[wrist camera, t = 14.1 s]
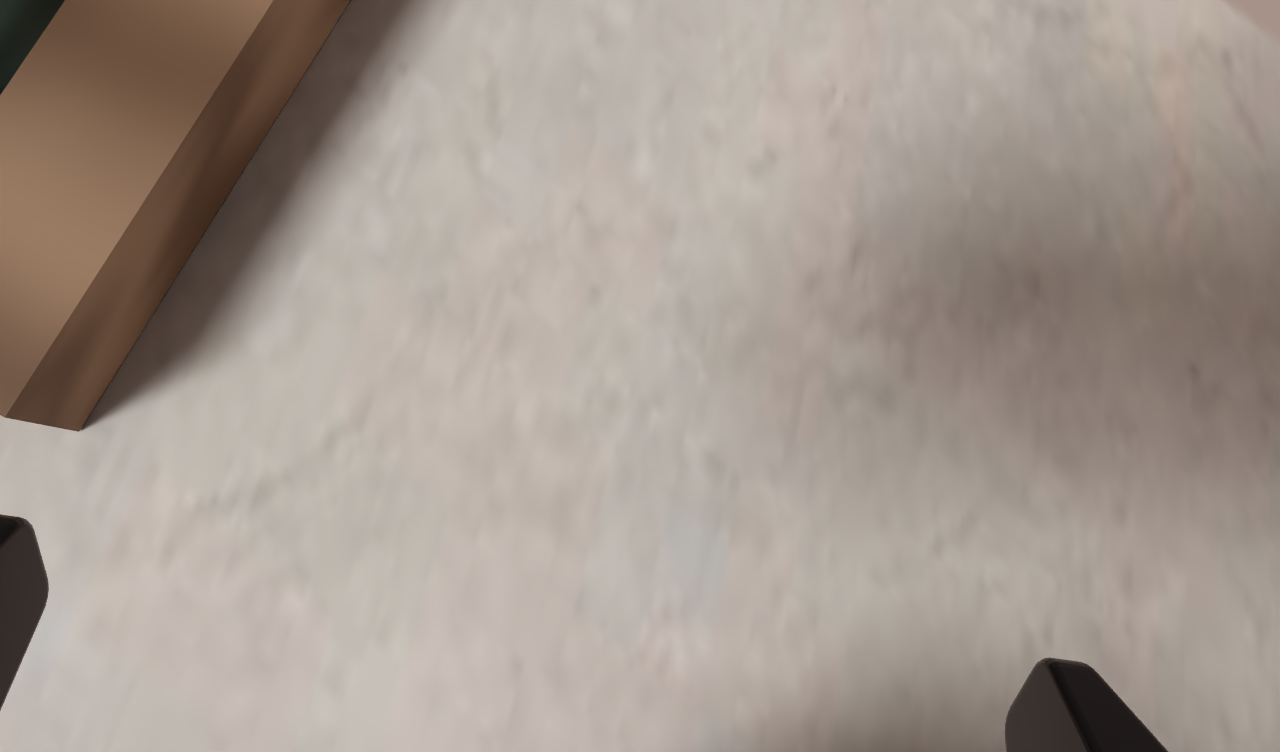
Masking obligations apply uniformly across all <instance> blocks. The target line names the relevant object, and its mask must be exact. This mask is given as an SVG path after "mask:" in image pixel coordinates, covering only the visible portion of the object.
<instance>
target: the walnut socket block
mask: <svg viewBox="0 0 1280 752" xmlns="http://www.w3.org/2000/svg"><path fill="white" fill-rule="evenodd" d="M350 1H351V0H65V1H64V3H63V4H62V6H61V7H60V8H59V10H58V11H57V13H56V14H55V16H54V17H53V19H52V20H51V22H50V23H49V25H48V26H47V28H46V29H45V30H44V32H43V33H42V35H41V36H40V38H39V39H38V41H37V42H36V44H35V45H34V47H33V48H32V49H31V51H30V52H29V54H28V55H27V57H26V58H25V60H24V61H23V63H22V64H21V66H20V67H19V69H18V70H17V71H16V73H15V74H14V76H13V77H12V79H11V80H10V82H9V83H8V85H7V86H6V88H5V89H4V90H3V92H2V93H1V95H0V415H1V416H3V417H6V418H11V419H16V420H21V421H26V422H32V423H37V424H42V425H47V426H53V427H58V428H63V429H68V430H73V431H80V429H81V428H82V426H83V424H84V423H85V421H86V420H87V418H88V417H89V415H90V413H91V412H92V410H93V409H94V407H95V405H96V404H97V402H98V401H99V399H100V397H101V396H102V394H103V393H104V391H105V390H106V388H107V386H108V385H109V383H110V382H111V380H112V378H113V377H114V375H115V374H116V372H117V370H118V369H119V367H120V366H121V364H122V363H123V361H124V359H125V358H126V356H127V355H128V353H129V351H130V350H131V348H132V347H133V345H134V343H135V342H136V340H137V339H138V337H139V336H140V334H141V332H142V331H143V329H144V328H145V326H146V324H147V323H148V321H149V320H150V318H151V317H152V315H153V313H154V312H155V310H156V309H157V307H158V305H159V304H160V302H161V301H162V299H163V297H164V296H165V294H166V293H167V291H168V290H169V288H170V286H171V285H172V283H173V282H174V280H175V278H176V277H177V275H178V274H179V272H180V270H181V269H182V267H183V266H184V264H185V263H186V261H187V259H188V258H189V256H190V255H191V253H192V251H193V250H194V248H195V247H196V245H197V243H198V242H199V240H200V239H201V237H202V236H203V234H204V232H205V231H206V229H207V228H208V226H209V224H210V223H211V221H212V220H213V218H214V216H215V215H216V213H217V212H218V210H219V209H220V207H221V205H222V204H223V202H224V201H225V199H226V197H227V196H228V194H229V193H230V191H231V189H232V188H233V186H234V185H235V183H236V182H237V180H238V178H239V177H240V175H241V174H242V172H243V170H244V169H245V167H246V166H247V164H248V162H249V161H250V159H251V158H252V156H253V155H254V153H255V151H256V150H257V148H258V147H259V145H260V143H261V142H262V140H263V139H264V137H265V136H266V134H267V132H268V131H269V129H270V128H271V126H272V124H273V123H274V121H275V120H276V118H277V116H278V115H279V113H280V112H281V110H282V109H283V107H284V105H285V104H286V102H287V101H288V99H289V97H290V96H291V94H292V93H293V91H294V89H295V88H296V86H297V85H298V83H299V82H300V80H301V78H302V77H303V75H304V74H305V72H306V70H307V69H308V67H309V66H310V64H311V62H312V61H313V59H314V58H315V56H316V55H317V53H318V51H319V50H320V48H321V47H322V45H323V43H324V42H325V40H326V39H327V37H328V35H329V34H330V32H331V31H332V29H333V28H334V26H335V24H336V23H337V21H338V20H339V18H340V16H341V15H342V13H343V12H344V10H345V8H346V7H347V5H348V4H349V2H350Z"/></svg>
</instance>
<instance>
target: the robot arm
mask: <svg viewBox="0 0 1280 752" xmlns="http://www.w3.org/2000/svg"><path fill="white" fill-rule="evenodd" d="M48 591H49V588H48V578H47V574H46V571H45V567H44V564H43V560H42V556H41V553H40V549H39V546H38V542H37V539H36V535H35V532H34V529H33V527H32V525H31V524H30V523H29V522H28V521H27V520H26V519H23V518H21V517H14V516H7V515H0V710H1V708H2V706H3V703H4V701H5V699H6V696H7V694H8V692H9V689H10V687H11V685H12V683H13V680H14V678H15V676H16V673H17V671H18V669H19V666H20V664H21V662H22V659H23V657H24V655H25V653H26V650H27V648H28V646H29V643H30V641H31V639H32V636H33V634H34V632H35V629H36V627H37V625H38V623H39V620H40V618H41V616H42V613H43V611H44V608H45V606H46V602H47V598H48ZM1005 741H1006V751H1007V752H1168V751H1167V750H1166V749H1165V748H1164V746H1163V745H1162V744H1161V743H1160V742H1159V741H1158V740H1157V739H1156V738H1155V736H1154V735H1153V734H1152V733H1151V732H1150V731H1149V730H1148V729H1147V727H1146V726H1145V725H1144V724H1143V723H1142V722H1141V721H1140V720H1139V719H1138V717H1137V716H1136V715H1135V714H1134V713H1133V712H1132V711H1131V710H1130V709H1129V707H1128V706H1127V705H1126V704H1125V703H1124V702H1123V701H1122V700H1121V699H1120V697H1119V696H1118V695H1117V694H1116V693H1115V692H1114V691H1113V690H1112V688H1111V687H1110V686H1109V685H1108V684H1107V683H1106V682H1105V681H1104V680H1103V678H1102V677H1101V676H1100V675H1099V674H1098V673H1097V672H1096V671H1095V670H1094V669H1093V668H1092V667H1090V666H1089V665H1087V664H1085V663H1082V662H1077V661H1070V660H1062V659H1055V658H1044V659H1042V660H1041V661H1039V662H1037V664H1036V665H1035V666H1034V668H1033V670H1032V671H1031V673H1030V675H1029V676H1028V678H1027V680H1026V682H1025V683H1024V685H1023V687H1022V688H1021V690H1020V692H1019V693H1018V695H1017V697H1016V699H1015V700H1014V702H1013V704H1012V705H1011V707H1010V709H1009V711H1008V715H1007V718H1006V724H1005Z"/></svg>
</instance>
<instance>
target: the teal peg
mask: <svg viewBox="0 0 1280 752" xmlns="http://www.w3.org/2000/svg"><path fill="white" fill-rule="evenodd" d="M64 1H65V0H0V95H1V93H2V92H3V90H4V89H5V88H6V86H7V85H8V83H9V82H10V80H11V79H12V77H13V76H14V74H15V73H16V71H17V70H18V69H19V67H20V66H21V64H22V63H23V61H24V60H25V58H26V57H27V55H28V54H29V52H30V51H31V49H32V48H33V47H34V45H35V44H36V42H37V41H38V39H39V38H40V36H41V35H42V33H43V32H44V30H45V29H46V28H47V26H48V25H49V23H50V22H51V20H52V19H53V17H54V16H55V14H56V13H57V11H58V10H59V8H60V7H61V6H62V4H63V3H64Z"/></svg>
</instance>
